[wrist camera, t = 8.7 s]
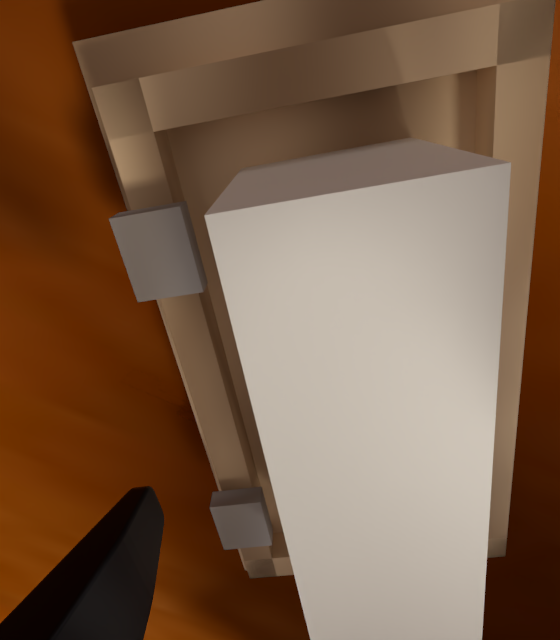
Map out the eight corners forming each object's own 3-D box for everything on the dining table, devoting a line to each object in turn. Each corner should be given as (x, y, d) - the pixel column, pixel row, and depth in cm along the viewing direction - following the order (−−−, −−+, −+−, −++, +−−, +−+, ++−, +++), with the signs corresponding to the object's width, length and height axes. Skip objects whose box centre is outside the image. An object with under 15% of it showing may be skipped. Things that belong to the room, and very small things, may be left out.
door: (411, 137, 10) (511, 163, 5) (424, 501, 15) (479, 667, 11) (241, 168, 10) (203, 214, 6) (311, 513, 15) (320, 678, 11)
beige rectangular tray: (533, -48, 9) (616, -101, 7) (494, 523, 17) (526, 590, 15) (91, 47, 10) (31, 30, 8) (247, 547, 18) (240, 612, 16)
